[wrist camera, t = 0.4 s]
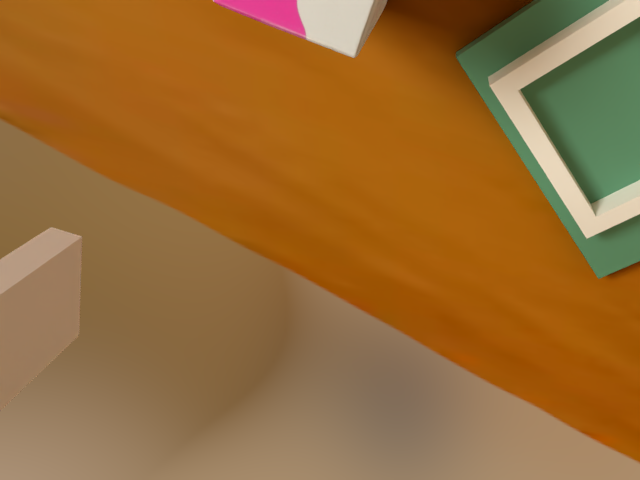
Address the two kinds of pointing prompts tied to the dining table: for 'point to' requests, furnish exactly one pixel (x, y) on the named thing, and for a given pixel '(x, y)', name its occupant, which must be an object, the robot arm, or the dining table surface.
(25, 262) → the robot arm
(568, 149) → the socket board
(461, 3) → the dining table surface
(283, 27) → the supplement box
